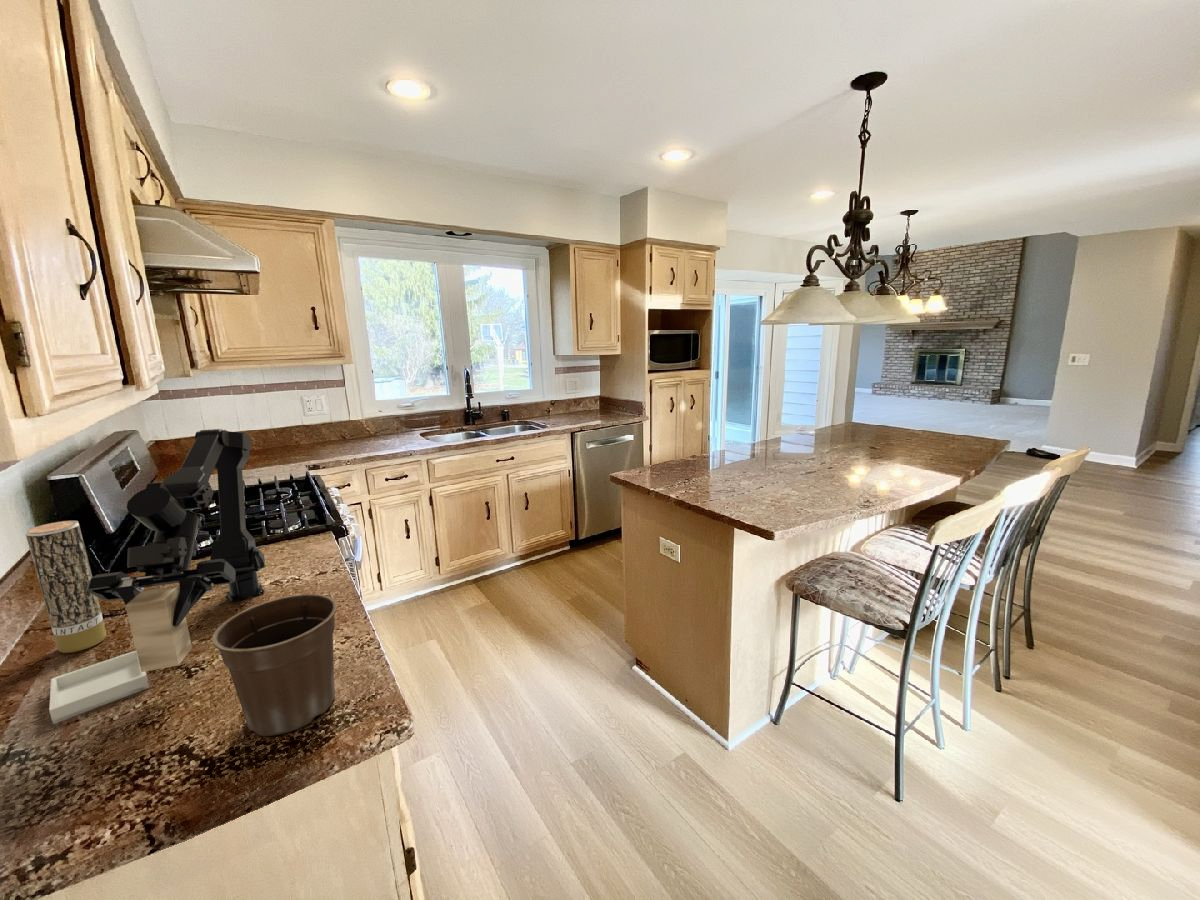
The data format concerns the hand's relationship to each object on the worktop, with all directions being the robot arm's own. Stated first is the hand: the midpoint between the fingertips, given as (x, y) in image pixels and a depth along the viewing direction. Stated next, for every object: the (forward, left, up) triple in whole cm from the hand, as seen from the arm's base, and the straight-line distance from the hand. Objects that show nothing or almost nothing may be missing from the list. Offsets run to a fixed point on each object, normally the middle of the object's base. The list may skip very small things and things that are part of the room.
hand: (155, 629), depth 79 cm
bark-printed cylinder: (-33, -10, -13) cm, 36 cm away
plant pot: (+19, +13, -13) cm, 27 cm away
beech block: (-1, +1, -7) cm, 7 cm away
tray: (-11, -8, -12) cm, 18 cm away
